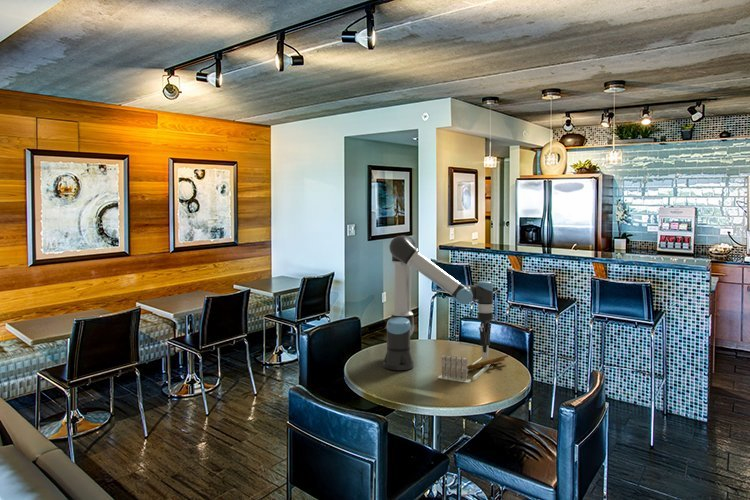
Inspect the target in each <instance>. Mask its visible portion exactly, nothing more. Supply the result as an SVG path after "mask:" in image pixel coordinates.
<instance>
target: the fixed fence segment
mask: <svg viewBox="0 0 750 500" xmlns="http://www.w3.org/2000/svg"><path fill="white" fill-rule="evenodd" d="M467 366H468V357H461V356H455V355H453V356H452V355H447V354H442V355H441V375H442V377H444V378H445V377H446V376H447V378H451V377H452V379H456V378H457V379H458V380H461V379H462V378H463V380H464V381H466V380H467V379H468V372H467Z"/></svg>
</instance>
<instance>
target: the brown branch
mask: <svg viewBox="0 0 750 500" xmlns="http://www.w3.org/2000/svg"><path fill="white" fill-rule="evenodd" d="M507 358H509V355H508V354H507V355H504V356H499V357H496V358H492V359H489V360H488V359H487V360H484V361H479V362H478V363H477V364H473V363H472V364H473V365H472V364H470V365H467V368H469V370H470V371H471V370H475V369H478V368H481V367H485V366H486V365H489V364H492V365H493V364H495V363H498V362H499V363H500V362H504V361H505V360H506V359H507Z"/></svg>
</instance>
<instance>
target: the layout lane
mask: <svg viewBox="0 0 750 500" xmlns="http://www.w3.org/2000/svg"><path fill="white" fill-rule="evenodd" d="M481 359H482V356H481V357H480V358H478V360H476V361H475V362H472V364H471V365H473V364H477V363H480V362H481V361H482V360H483V359H482V360H481ZM490 365H491V364H489V365H485V366H483V368H482V369H480V370H479V371H478V372H477V373H475V374H474V375H473V376H472V381H475V380H477V379H478V378H479V377H481V376H482V374H484V373H485V372H486V371H487V370H488V369H489V368H490V367H491V366H492V365H491V366H490ZM489 366H490V367H489ZM470 371H471V370H469V368H467V373H469V372H470Z"/></svg>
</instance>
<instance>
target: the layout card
mask: <svg viewBox="0 0 750 500" xmlns="http://www.w3.org/2000/svg"><path fill="white" fill-rule="evenodd" d="M436 378H437V379H441V380H447V381H454V382H461V383H468V384H469V383H471V381H472V379H470V378H467V380H466V381H464V380H463V377H462V379H461V380H458V379H457V378H456V379H452V377H451V378H447V375H446V377H445V378H444V377H442V374H441V375H440V374H439V376H437V377H436Z"/></svg>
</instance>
